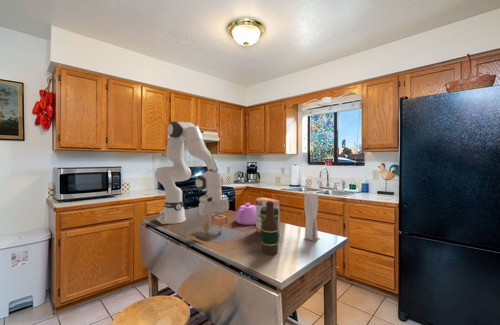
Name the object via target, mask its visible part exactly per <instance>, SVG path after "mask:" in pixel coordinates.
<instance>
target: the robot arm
mask: <svg viewBox="0 0 500 325" xmlns="http://www.w3.org/2000/svg"><path fill="white" fill-rule="evenodd" d="M166 132H167V134H168V139H167V140H168V141H167V144H166V145H167V149H166V158H167V159H168V161H170V162H172V163H173V166H162V167H159V168H156V170H155V172H154V177H155V179H156V181H157V182H159V183H160V184H161V185H162V187H163V188H164V192H165V202H164V207H163V208H162V209H161V210H160V211H159V217H157V218H156V221H157V222H158V223H160V224H161V225H171V224H172V225H174V224H179V223H180V224H181V223H184V222H185V221H186V220H187V217H186V211H185V207H184V200H183V190H182V189H181V188H180V187H178V186H177V185H176V182H177V183H178V182H184V181H187V180H190V179H191V177H192V171H191V170H192V169H190V167H189V166H188V165H187V164H186V162H185V159H184V158H185V156H184V154H185V153H184V152H185V151H184V150H185V145H186V150H187V152H188V154H189V155H191V156H192V157H194V158H196V159H199V160H201V161H202V162H204V164H205V165H206V167H207V171H206V172H205V173H202V174H200V175H197V176H196V177H195V180H194V184H195V187H196V189H197V190H199V191H206V193H205V194H204V195H202V196H200V197H199V198H198V200H199V203H198V214H199V215H200V216H204V217H205V215H208V216H209V218H210V221H213V218H212V214H216V215H222V212H225V211H226V212H227V211H228V210H229V208H230V202H229V197H228V196H227V195H226V194H223V192H222V191H223V190H222V186H223V182H224V180H223V176H222V173H221V171H220V170H219V169H218V167H217V164H216V162H215V159H214V157H213V154H212V153H211V151H210V150H209V149H208V147H207V146H206V144H205V142H204V137H203V135H202V132H201V129H200V126H199V124H197V123H194V122H189V121H177V120H176V121H175V120H174V121H170V122H169V123H168V125H167V126H166Z"/></svg>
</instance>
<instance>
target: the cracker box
mask: <svg viewBox="0 0 500 325" xmlns="http://www.w3.org/2000/svg"><path fill="white" fill-rule="evenodd" d="M269 201H271V202H273V203H274V204H273V208H277V209H278V212H279V216H278V233H279V237H280V234H281V231H280V230H281V229H280V228H281V224H280V223H281V220H280V214H281V212H280V207H281V206H280V204H281V202H280V200H278V199H274V198H268V197H263V196H262V197H257V198H256V199H255V206H256V224H255V230H256V232H258V233H260V234H261V215H260V214H261V208H262V207H266V206H267V205H266V202H269Z"/></svg>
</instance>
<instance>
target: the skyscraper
mask: <svg viewBox="0 0 500 325" xmlns="http://www.w3.org/2000/svg"><path fill="white" fill-rule="evenodd" d="M303 200H304V203H303V204H304V214H305V215H304V216H305V227H304V238H303V241H308V242H312V243H317V242H318V241H319V240H321V238H320V237H319V234H318V224H317V216H318V215H317V214H318V209H319V195H318V191H315V190H314V191H311V190H310V191H308V189H307V188H304V199H303Z"/></svg>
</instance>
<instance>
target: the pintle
mask: <svg viewBox="0 0 500 325" xmlns="http://www.w3.org/2000/svg"><path fill="white" fill-rule="evenodd" d="M217 226H218V234H219V235H220V234H222V226H223V225H220V226H219V225H217Z"/></svg>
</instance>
